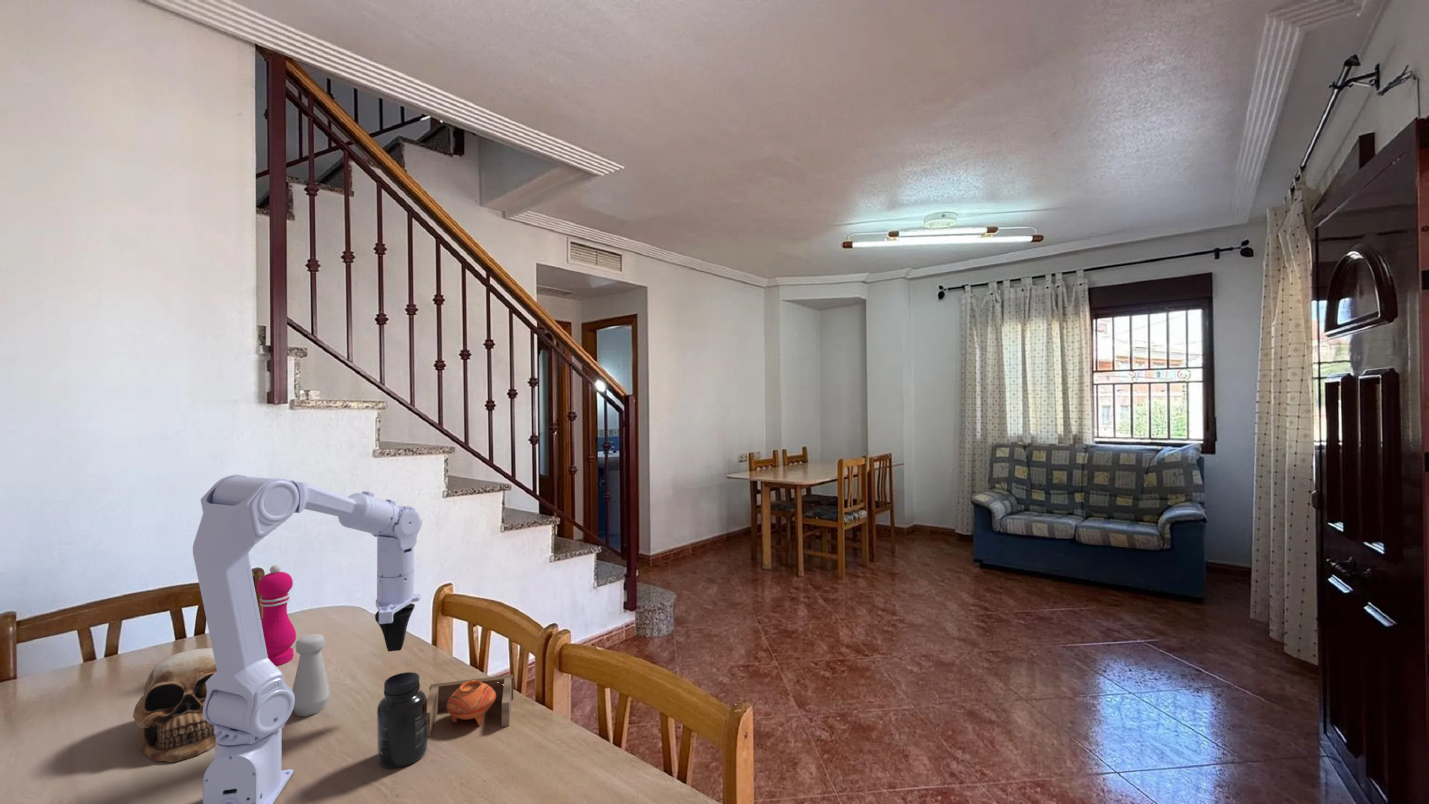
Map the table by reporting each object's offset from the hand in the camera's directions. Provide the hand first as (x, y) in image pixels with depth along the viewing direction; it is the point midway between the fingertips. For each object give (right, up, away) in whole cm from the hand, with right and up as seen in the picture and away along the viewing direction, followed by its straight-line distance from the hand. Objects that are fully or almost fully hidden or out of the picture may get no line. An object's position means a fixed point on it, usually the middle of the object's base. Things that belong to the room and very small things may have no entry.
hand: (395, 649), depth 105 cm
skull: (-30, -11, -8) cm, 32 cm away
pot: (+15, -11, -3) cm, 19 cm away
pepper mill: (-35, -10, +18) cm, 40 cm away
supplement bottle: (+9, -11, -14) cm, 20 cm away
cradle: (+14, -11, -2) cm, 18 cm away
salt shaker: (-14, -11, -1) cm, 18 cm away
